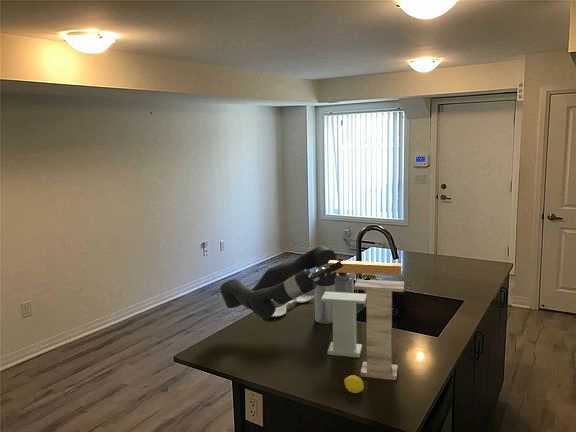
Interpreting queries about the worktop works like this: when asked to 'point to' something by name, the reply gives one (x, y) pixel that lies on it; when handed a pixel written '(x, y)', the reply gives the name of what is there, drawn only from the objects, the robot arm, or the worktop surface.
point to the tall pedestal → (379, 327)
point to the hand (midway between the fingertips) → (342, 262)
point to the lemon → (354, 384)
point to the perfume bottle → (343, 283)
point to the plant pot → (371, 277)
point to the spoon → (282, 309)
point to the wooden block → (368, 267)
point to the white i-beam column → (344, 323)
